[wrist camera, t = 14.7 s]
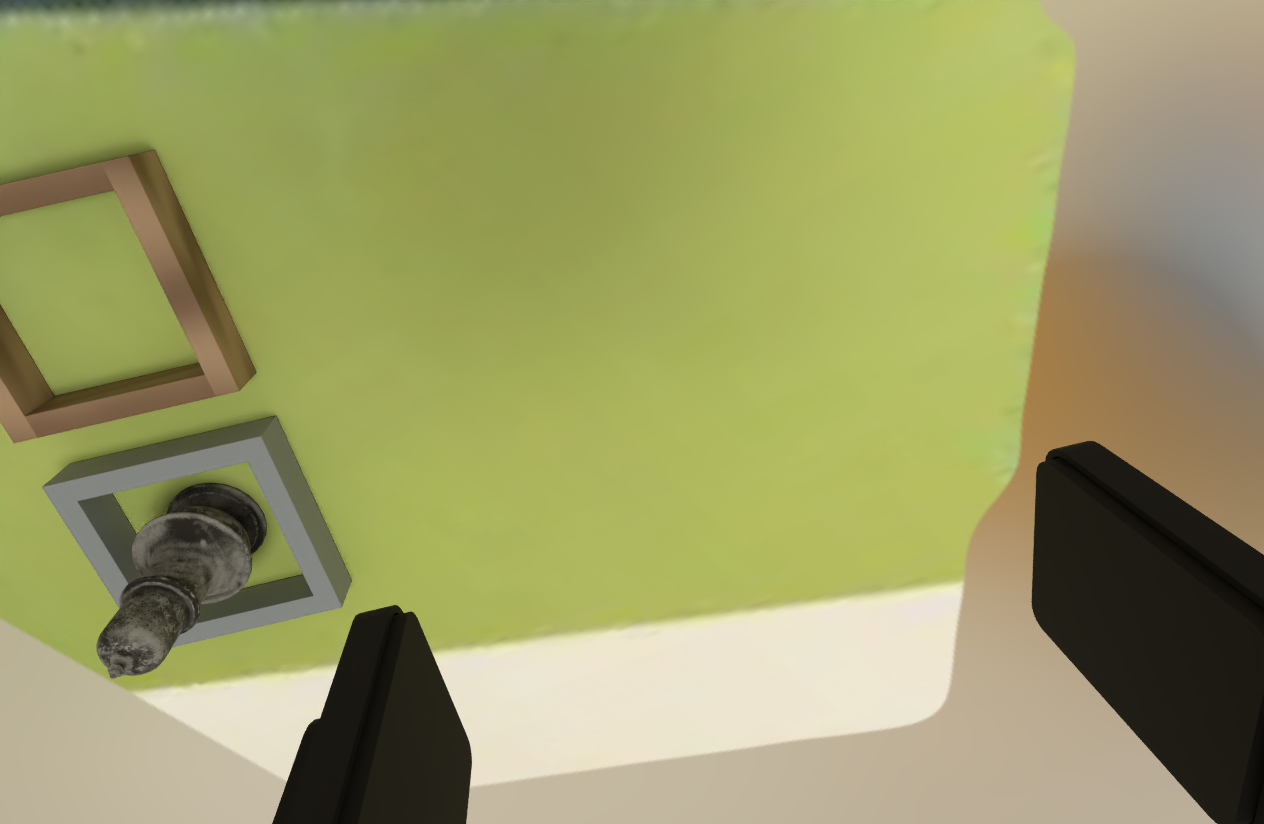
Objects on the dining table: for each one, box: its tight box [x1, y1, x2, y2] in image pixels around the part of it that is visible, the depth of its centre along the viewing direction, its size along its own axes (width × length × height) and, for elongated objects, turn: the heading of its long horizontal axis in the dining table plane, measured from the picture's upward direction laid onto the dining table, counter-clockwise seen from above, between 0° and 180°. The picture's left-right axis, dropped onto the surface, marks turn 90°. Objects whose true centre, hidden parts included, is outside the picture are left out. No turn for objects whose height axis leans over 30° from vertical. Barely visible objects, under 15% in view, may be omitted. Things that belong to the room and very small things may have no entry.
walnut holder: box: [0, 150, 256, 443], centre depth 36 cm, size 11×11×2 cm
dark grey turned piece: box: [96, 483, 267, 678], centre depth 38 cm, size 6×6×12 cm
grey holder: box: [42, 416, 352, 647], centre depth 42 cm, size 11×11×2 cm
